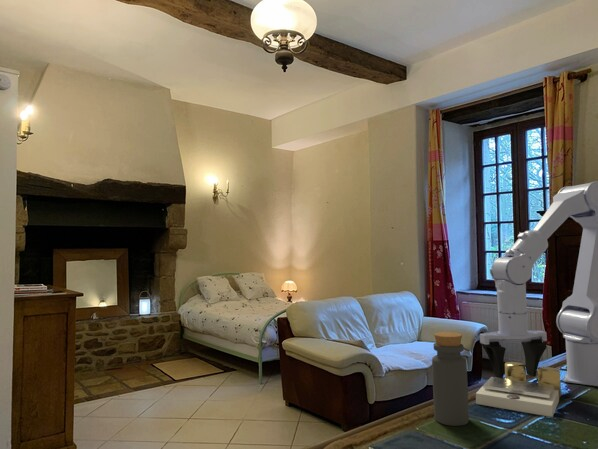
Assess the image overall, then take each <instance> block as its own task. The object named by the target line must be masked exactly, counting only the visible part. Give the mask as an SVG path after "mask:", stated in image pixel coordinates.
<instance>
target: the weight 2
mask: <svg viewBox="0 0 598 449" xmlns="http://www.w3.org/2000/svg"><path fill="white" fill-rule="evenodd" d="M537 383H541V384H548V385H554V390H559V398H560V397H562V388H561V387H562V386H561V371H560V369H558V368H556V367H549V366H539V367H538V368H537Z"/></svg>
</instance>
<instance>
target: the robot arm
mask: <svg viewBox="0 0 598 449" xmlns="http://www.w3.org/2000/svg"><path fill="white" fill-rule="evenodd" d="M552 201H553V202H552V203H551V204H550V206H549V207H548V208H547V210H546V211H545V213H544V214H543V215H542V217H541V219H540V220H539V221H538V222H537V224H536V225H535V227H534V228H533V229H532V230H525V231H524V232H520V233H518V235H517V238H518V239H516V241H515V242H514V243H513V244H512V246H511V247H510V248H509V249H507V250H506V251H505V252H504V255H503V256H501V257H498V258H496V259H495V260H494V262H493V264H492V266H491V268H490V269H489V273H490V276H491V278H492V279H493V281H494V283H495V289H496V298H497V299H496V301H497V304H496V305H497V318H498V319H497V323H498V330H497V331H492V332H491V331H490V332H485V333H479V343H480V344H481V347H482V349H483V350H484V352H485V353H486V355H487V356H488V359H489V362H490V365H491V367H492V371H493V375H494V377H497V378H504V376H505V368H504V361H505V360H504V358H505V354H506V349H507V348H506V347H504V346H502V345H501V344H503V343H504V344H505V343H506V344H507V343H521V345H522V349H523V353H524V360H525V363H524V364H525V369H526V375H529V376H531V377H537V376H536V375H537V373H538V368H539V367H538V366H539V364H540V361H541V358H542V356H543V355H544V352H545V351H546V349H547V343H546V342H547V341H548V337H547V334H548V333H547V331H543V330H529V327H528V309H527V308H528V306H527V284H526V283H527V282H528V281H529V280H531V278H532V274H533V267H534V265H535V264H536V262H537V261H538V260H539V259H540V257H541V256H542V255H543V254H544V253H545V252H546V251H547V249H548V247H549V242H548V239H549V238H550V237H551V236H552V235H553V234H554V233H555V232H556V231H557V230H558V229H559V227H560V226H562V224H564V222H565V221H566V220H568V218H571V219H573V221H575V222H576V223H578V224H579V225H580V226H581V228H582V234H581V239H580V245H579V246H580V247H579V253H578V258H577V264H576V270H575V277H574V284H573V288H572V294H571V295H570V296H567V298H565V300H563V301H562V306H561V308H560V310H559V312H558V313H557V315H556V321H555V323H556V327H557V329H558V330H559V332H560V333H561V334H562V337H563V339H565V350H566V351H565V353H566V354H565V357H566V370H567V371H566V374H565V376H564V379H563V382H564V383H571V384H579V385H585V386H586V385H587V386H593V387H598V180H595V181H591V182H587V183H584V184H583V183H582V184H577V185H571V186H568V185H567V186H564V187H563V186H562V187H561V188H560V189H559V191H557V193H556V194H555V195H554V196H553V197H552Z"/></svg>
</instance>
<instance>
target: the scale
mask: <svg viewBox="0 0 598 449" xmlns="http://www.w3.org/2000/svg"><path fill="white" fill-rule="evenodd" d="M559 402H560V397H559V390H553V392H552V394H551V396H550V398H544V397H538V396H531V395H525V394H518V393H512V392H505V391H498V390H492V389H485V388H483V385H482V386H481V387H480V389H478V391H476V393H475V404H476V405H480V406H481V405H482V406H488V407H493V408H497V409H505V410H508V411H509V410H510V411H515V412H521V413H527V414H532V415H539V416H545V417H549V418H553V417H554V414H555V413H556V412H555V411H556V409H557V407H558V404H559Z"/></svg>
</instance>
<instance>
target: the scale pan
mask: <svg viewBox="0 0 598 449" xmlns="http://www.w3.org/2000/svg"><path fill="white" fill-rule="evenodd" d="M482 386H483V388H485V389H492V390H498V391H505V392H512V393H518V394H525V395H531V396H538V397H544V398H550V396H551V394H552V392H553V390H554V385H548V384H541V383H538V382H533V381H527V380H526V381H519V380H512V379H505V378H504V377H503V378H497V377H495V376H490V377H489V379H488V380H487V381H485V383H484V384H483V385H482Z"/></svg>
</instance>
